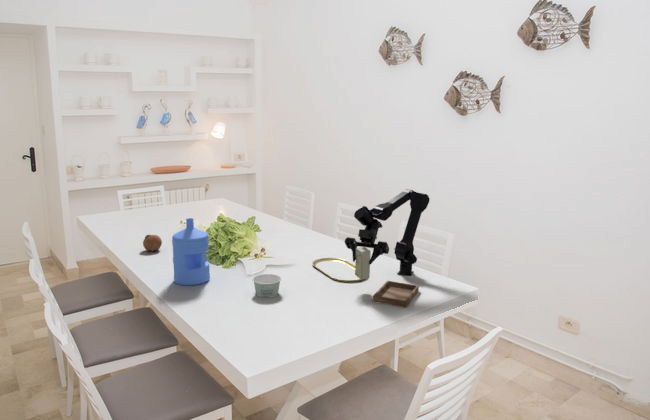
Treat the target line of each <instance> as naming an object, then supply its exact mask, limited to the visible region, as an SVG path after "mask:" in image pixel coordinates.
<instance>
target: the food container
mask: <svg viewBox="0 0 650 420" xmlns="http://www.w3.org/2000/svg"><path fill="white" fill-rule="evenodd" d="M281 281H282V277H281V276H279V275H277V274H273V273H263V274H256V275H255V276H252V282H253V285H254V290H255V295H256V296H258V297H260V298H272V297H275V296H276V297H277V296H278V294H279V289H280V283H281Z"/></svg>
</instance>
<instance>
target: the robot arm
mask: <svg viewBox="0 0 650 420" xmlns="http://www.w3.org/2000/svg"><path fill="white" fill-rule="evenodd" d="M407 202H409V206H410V207H409V208H410V213H409V216H408V220H407V223H406V225H405V229H404V233H403V236H402V239H400V241H396V243H395V247H394V249H393V250H394V255H395V259H396V260H397V261H399V271H397V272H396V273H397V275H400V276H406V277H411V276H412V275H413V274H414V270H413V265H415V264H416V263H417V261H418V257H417V256H416V255H415V254H414V250H415V247H414V243H413V242H414V239H415V235H416V232H417V229H418V226H419V222H420V219H421V217H422V213H423V212H424V211H425V210H427V208H428V205H429V204H430V197H429V195H428V194H427V193H422V192H419V191H418V192H417V191H415V190H413V189H407V188H405V189H403V190H402V192H400V193H398V194H397V195H396V196H394V197H393V198H391V199H390V200H388V201H387V202H384V203H378V204H377V205H374V207H372V208H371V209H369V208H368V207H367V205H363V206H361V207H360V208H358V209H357V210H355V212H354V214H353V217H354V218H355V220H356V221H358V222H359V223H360V224H361V225H362V226H365V227H364V229H360V228H359V229H358V234H357V235H358V236H357V237H358V238H359V240H360V241H357V240H356V238H355V237H346V238H345V239H344V244H345V247H346V248H347V249H348V250H349V249H350V250H351V252H352V253H351V254H352V262H353V263H355V262H356V248H358V247H359V248H362V247H365V248H367V249H368V248H369V249H373V251H372V253H371V255H370V263H369V264H370V265H372V264H373V262H375V260H376V259H378V257H380V256H381V255H383V254H385V255H386V254H387V255H388V254H389V252H390V247H389V244H388V242H387V241H381V240H379V241H378V242H377V243H375V242H376V240H377V238H378V231H379V229H381V228H383V224H382V223H381V221H383V222H384V221H385V222H386V221H387V220H388V219H389V218H390V217H392V215H393V212H395V210H398V208H400V207H401V206H402V205H404V204H405V203H407ZM379 220H380V221H379Z"/></svg>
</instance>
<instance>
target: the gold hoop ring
mask: <svg viewBox="0 0 650 420" xmlns="http://www.w3.org/2000/svg"><path fill="white" fill-rule="evenodd" d="M321 262H339V263H343V264H346V266H348V267H350V268H352V269H354V270H355V264H354V263H352V262H351V261H348V260H347V259H342V258H338V257H322V258H318V259H315V260H313V261H312V266H313V267H314V268H316V269H317V270H318V271H320V272H321V273H322V274H324V275H326V276H327V277H328V278H331V279H332V280H334V281H337V282H341V283H342V282H343V283H357V282H361V281H363V280H365V279H359V278H358V279H339V278H336V277H333V276H331V275H329V274H328V273H326V272H325V271H323V270H322V269H320V268H319V267H317V264H319V263H321Z"/></svg>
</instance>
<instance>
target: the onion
mask: <svg viewBox="0 0 650 420" xmlns="http://www.w3.org/2000/svg"><path fill="white" fill-rule="evenodd" d="M162 244H163V240H162V238H161V237H160V236H159V235H157V234H146V235H145V237H144V239H143V241H142V245H143V248H144V249H145V250H146V251H147V252H157V251H159V250H160V248H161V246H162ZM156 250H157V251H156Z"/></svg>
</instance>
